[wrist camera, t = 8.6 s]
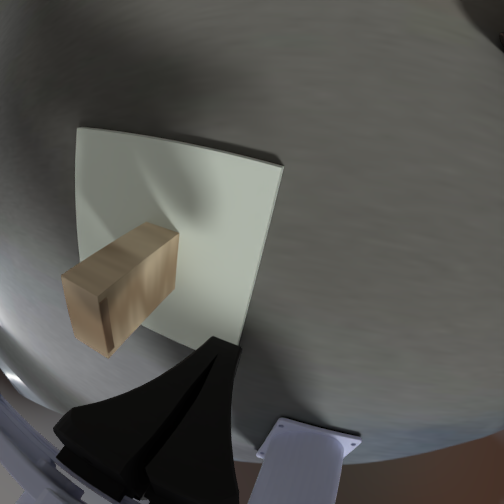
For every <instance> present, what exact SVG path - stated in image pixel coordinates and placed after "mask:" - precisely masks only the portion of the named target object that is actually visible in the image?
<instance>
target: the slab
mask: <svg viewBox="0 0 504 504" xmlns="http://www.w3.org/2000/svg"><path fill="white" fill-rule="evenodd" d="M179 234H180V233H178V232H175V231H172V230H169V229H166V228H163V227H160V226H157V225H155V224H152V223H149V222H145V223H143V224H141V225H140V226H138V227H136V228H135V229H133V230H131V231H129V232H128V233H126V234H124V235H123V236H121V237H120V238H118V239H116V240H115V241H113V242H111V243H110V244H108V245H107V246H105V247H103V248H102V249H100V250H99V251H97V252H96V253H94V254H92V255H91V256H89V257H88V258H86V259H85V260H83V261H82V262H80V263H79V264H77V265H76V266H74V267H73V268H71V269H70V270H68V271H67V272H65V273H64V274H62V275H61V279H62V284H63V289H64V294H65V299H66V303H67V308H68V312H69V316H70V320H71V324H72V328H73V331H74V335H75V338H77V339H78V340H80V341H81V342H83V343H84V344H86V345H87V346H89V347H90V348H92V349H94V350H95V351H97V352H98V353H100V354H102V355H103V356H105V357H106V358H108V359H109V358H110V357H111V356H112V354H113V353H114V352H115V351H116V350H117V349H118V348H119V347H120V346H121V345H122V344H123V343H124V342H125V340H126V339H127V338H128V337H129V336H130V335H131V334H132V333H133V332H134V331H135V330H136V329H137V328H138V327H139V326H140V324H141V323H142V322H143V321H144V320H145V319H146V318H147V317H148V316H149V315H150V314H151V313H152V312H153V311H154V310H155V309H156V308H157V307H158V306H159V304H160V303H161V302H162V301H163V300H164V299H165V298H166V297H167V296H168V295H169V294H170V293H171V292H172V291H173V290H174V289H175V281H176V267H177V255H178V244H179Z"/></svg>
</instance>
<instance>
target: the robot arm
mask: <svg viewBox="0 0 504 504" xmlns="http://www.w3.org/2000/svg"><path fill="white" fill-rule="evenodd" d="M242 350H243V349H242V348H241V347H240V346H238V345H235V344H233V343H230V342H227V341H225V340H222V339H220V338H217V337H215V336H212V337H210V338H209V339H208V340H207V341H206V342H205V343H204V344H203V345H201V346H200V347H199V348H198V349H197V350H196V351H194V352H193V353H192V354H191V355H189V356H188V357H187V358H185V359H184V360H183V361H181V362H180V363H179V364H177V365H176V366H174V367H173V368H171V369H170V370H168V371H167V372H165V373H163V374H162V375H160V376H159V377H157V378H155V379H153V380H151V381H150V382H148V383H146V384H144V385H142V386H140V387H138V388H135V389H133V390H131V391H129V392H126V393H124V394H121V395H118V396H116V397H113V398H109V399H106V400H103V401H100V402H96V403H92V404H88V405H83V406H78V407H74V408H72V409H71V410H69V411H68V412H67V413H66V414H65V415H64V416H63V417H62V418H61V419H60V420H59V422H58V423H57V424H56V425H55V426H54V428H53V430H54V433H55V434H56V436H57V437H58V438H59V439H60V441H61V442H62V443H63V444H64V445H65V446H64V447H63V448H62V450H61V451H60V450H59V449H57V448H56V447H55V446H54V445H53V444H51V443H50V442H49V441H48V440H47V439H45V438H44V437H43V436H42V435H41V434H40V433H39V432H38V431H37V430H35V429H34V428H33V427H32V426H31V425H30V424H29V423H28V422H27V421H26V420H25V419H24V418H23V417H22V416H21V415H20V414H19V413H18V412H17V411H16V410H15V409H14V408H13V407H12V406H11V405H10V404H9V403H8V402H7V400H6V399H5V398H4V397H3V396H2V395H1V393H0V463H1V464H2V465H3V466H4V468H5V469H6V470H7V471H8V472H9V474H10V475H11V476H12V477H13V478H14V479H15V480H16V481H17V482H18V484H19V485H20V486H21V487H22V488H23V489H24V490H25V491H24V492H23V494H22V495H21V496H20V498H19V499H18V500H17V501H16V503H15V504H87V503H86V502H84V501H83V500H81V497H82V495H83V494H84V491H83V490H82V489H81V488H79V487H78V486H77V485H75V484H74V483H73V482H71V481H70V480H69V479H68V478H67V477H65V476H64V475H63V474H61V473H60V472H59V471H58V470H57V469H56V464H57V465H58V466H60V467H61V468H62V469H63V470H65V471H66V472H67V473H69V474H70V475H71V476H72V477H74V478H75V479H77V480H78V481H79V482H81V483H82V484H83V485H85V486H86V487H88V488H89V489H91V490H92V491H94V492H95V493H97V494H98V495H100V496H101V497H103V498H105V499H106V500H108V501H109V502H111V503H112V504H140V503H138V502H137V501H135V500H133V498H135V499H137V500H139V501H140V500H147V499H148V500H149V501H150V503H149V504H239V490H238V485H237V480H236V474H235V468H234V461H233V452H232V441H231V399H232V389H233V381H234V377H235V374H236V371H237V367H238V364H239V360H240V357H241V353H242ZM361 442H362V438H361V437H358V436H354V435H349V434H344V433H340V432H336V431H331V430H327V429H323V428H319V427H316V426H312V425H308V424H305V423H301V422H297V421H294V420H291V419H287V418H283V417H282V418H279V419H278V420H277V422H276V424H275V425H274V427H273V428H272V430H271V432H270V433H269V435H268V436H267V438H266V439H265V441H264V442H263V444H262V445H261V447H260V449H259V450H258V452H257V454H256V456H257V457H259V458H262V459H264V461H263V464H262V467H261V470H260V472H259V475H258V478H257V480H256V483H255V486H254V489H253V491H252V494H251V496H250V499H249V501H248V504H335V499H336V495H337V489H338V485H339V480H340V474H341V468H342V462H343V458H344V457H345V456H346V455H347V454H348V453H350V452H351V451H352V450H353V449H354V448H356V447H357V446H358V445H359V444H360V443H361ZM54 462H55V463H56V464H55V463H54Z"/></svg>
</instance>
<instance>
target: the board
mask: <svg viewBox="0 0 504 504" xmlns="http://www.w3.org/2000/svg"><path fill="white" fill-rule="evenodd" d="M283 169H284V166H282V165H278V164H274V163H271V162H267V161H263V160H259V159H255V158H252V157H248V156H244V155H240V154H235V153H231V152H227V151H223V150H218V149H214V148H209V147H205V146H200V145H195V144H190V143H185V142H180V141H175V140H170V139H164V138H159V137H153V136H147V135H141V134H134V133H128V132H121V131H113V130H106V129H97V128H89V127H80V128H77V135H76V157H75V200H76V221H77V236H78V247H79V256H80V262H82V261H83V260H85V259H86V258H88V257H89V256H91V255H92V254H94V253H96V252H97V251H99V250H100V249H102V248H103V247H105V246H107V245H108V244H110V243H111V242H113V241H115V240H116V239H118V238H120V237H121V236H123V235H124V234H126V233H128V232H129V231H131V230H133V229H135V228H136V227H138V226H140V225H141V224H143V223H145V222H149V223H152V224H155V225H157V226H160V227H163V228H166V229H169V230H172V231H175V232H178V233H180V234H179V244H178V255H177V267H176V281H175V289H174V290H173V291H172V292H171V293H170V294H169V295H168V296H167V297H166V298H165V299H164V300H163V301H162V302H161V303H160V304H159V306H158V307H157V308H156V309H155V310H154V311H153V312H152V313H151V314H150V315H149V316H148V317H147V318H146V319H145V320H144V321H143V322H142V323H141V324H140V325H142V326H144V327H146V328H148V329H150V330H152V331H155V332H157V333H159V334H161V335H163V336H165V337H167V338H169V339H172V340H174V341H176V342H178V343H180V344H183V345H185V346H187V347H189V348H192V349H194V350H197V349H198V348H199V347H200V346H201V345H203V344H204V343H205V342H206V341H207V340H208V339H209V338H210V337H212V336H215V337H217V338H220V339H222V340H225V341H227V342H230V343H233V344H235V345H239V342H240V338H241V334H242V330H243V326H244V323H245V319H246V315H247V311H248V307H249V303H250V300H251V296H252V292H253V288H254V284H255V280H256V276H257V272H258V268H259V265H260V261H261V257H262V253H263V249H264V245H265V241H266V237H267V233H268V229H269V225H270V221H271V217H272V213H273V209H274V205H275V201H276V197H277V193H278V189H279V185H280V181H281V177H282V173H283Z"/></svg>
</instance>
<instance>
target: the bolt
mask: <svg viewBox="0 0 504 504" xmlns="http://www.w3.org/2000/svg"><path fill="white" fill-rule="evenodd" d="M500 40H501V42H502V44H503V46H504V32H503V33H500Z"/></svg>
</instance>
